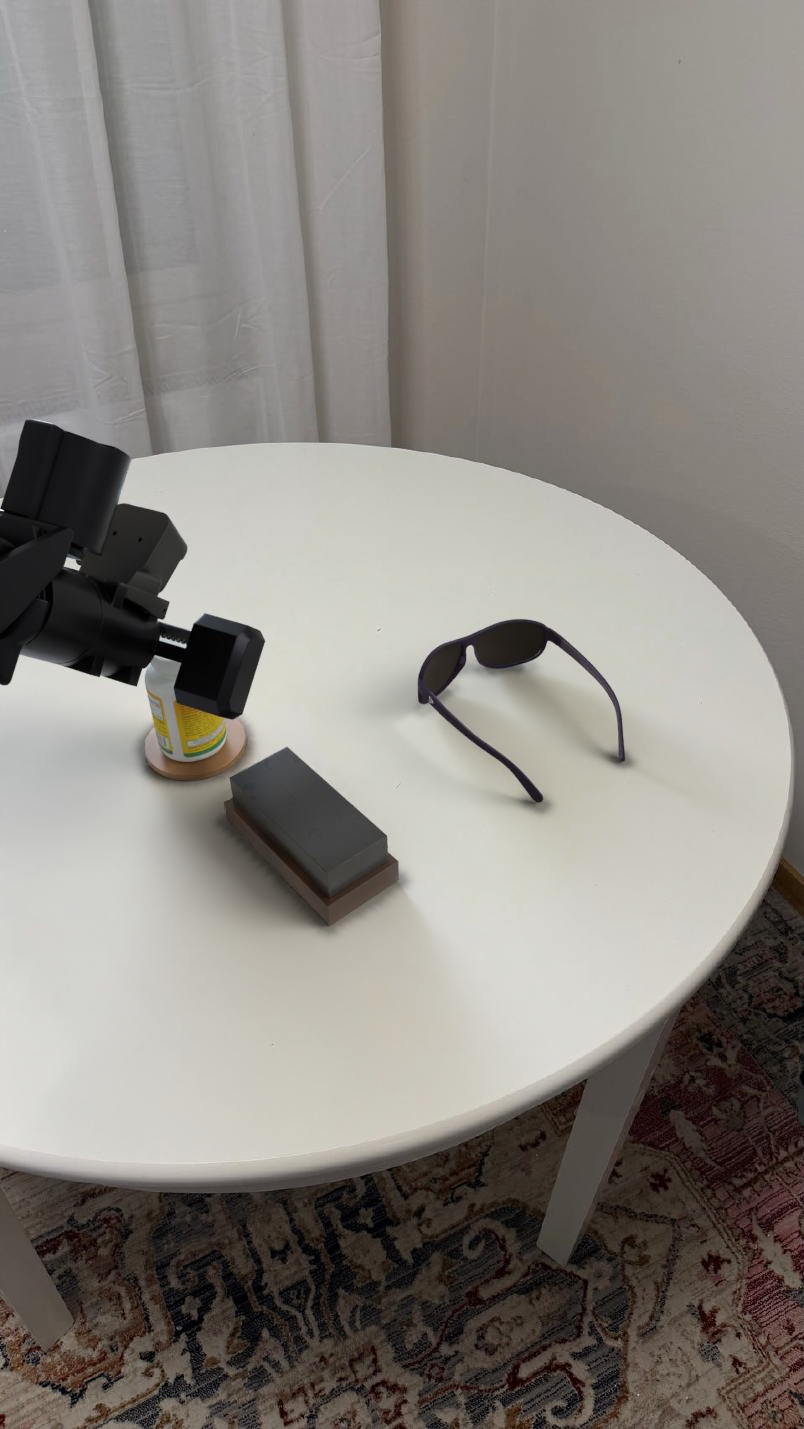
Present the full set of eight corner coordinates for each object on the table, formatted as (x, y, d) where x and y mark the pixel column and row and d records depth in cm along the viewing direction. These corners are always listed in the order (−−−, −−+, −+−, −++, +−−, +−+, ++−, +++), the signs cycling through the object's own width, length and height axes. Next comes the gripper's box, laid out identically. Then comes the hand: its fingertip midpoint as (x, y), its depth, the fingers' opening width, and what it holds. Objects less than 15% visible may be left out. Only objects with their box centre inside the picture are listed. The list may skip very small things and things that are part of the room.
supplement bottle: (147, 758, 78) (124, 660, 72) (176, 714, 82) (156, 618, 76) (212, 769, 77) (194, 671, 71) (238, 724, 81) (222, 628, 75)
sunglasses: (526, 649, 89) (530, 602, 86) (653, 748, 79) (663, 700, 76) (398, 705, 84) (397, 657, 80) (517, 819, 74) (521, 770, 70)
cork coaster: (156, 792, 76) (155, 786, 76) (136, 727, 82) (135, 722, 81) (258, 764, 78) (257, 758, 78) (232, 703, 84) (231, 697, 84)
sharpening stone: (399, 880, 69) (398, 836, 66) (329, 926, 66) (325, 882, 64) (293, 783, 77) (288, 739, 74) (226, 820, 74) (218, 776, 71)
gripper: (231, 524, 59) (332, 587, 73) (-15, 463, 65) (124, 533, 79) (173, 706, 58) (287, 733, 73) (-67, 628, 65) (82, 667, 79)
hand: (192, 660), depth 76 cm, fingers open, 9 cm apart
